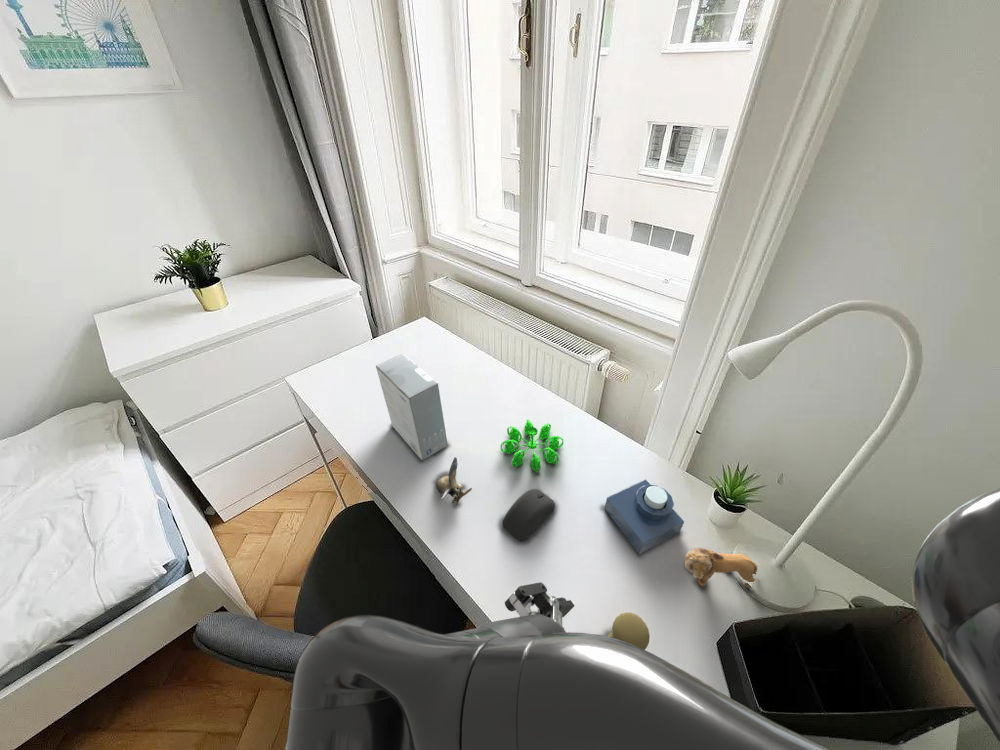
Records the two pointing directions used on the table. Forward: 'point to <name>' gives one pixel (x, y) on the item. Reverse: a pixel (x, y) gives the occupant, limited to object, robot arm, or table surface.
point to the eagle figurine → (450, 484)
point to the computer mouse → (528, 514)
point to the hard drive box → (413, 405)
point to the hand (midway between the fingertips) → (590, 642)
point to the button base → (643, 517)
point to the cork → (630, 630)
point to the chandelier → (532, 445)
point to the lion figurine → (719, 565)
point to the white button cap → (655, 497)
